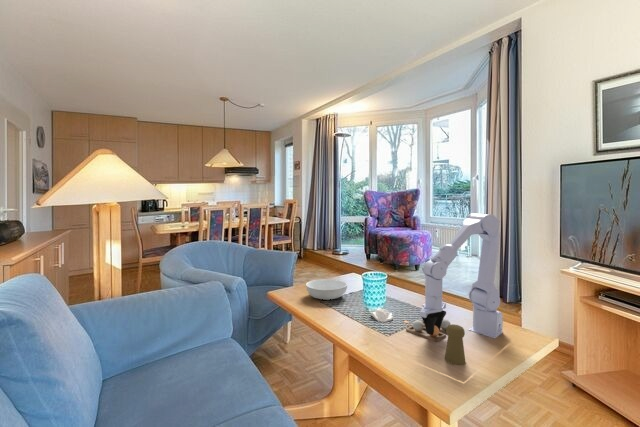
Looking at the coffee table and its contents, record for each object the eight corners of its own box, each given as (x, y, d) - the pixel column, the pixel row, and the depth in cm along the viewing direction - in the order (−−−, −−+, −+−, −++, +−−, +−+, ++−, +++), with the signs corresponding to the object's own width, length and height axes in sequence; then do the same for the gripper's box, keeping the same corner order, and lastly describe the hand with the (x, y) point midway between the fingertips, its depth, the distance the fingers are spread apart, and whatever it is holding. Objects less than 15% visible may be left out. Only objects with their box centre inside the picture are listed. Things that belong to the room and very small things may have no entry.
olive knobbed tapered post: (440, 356, 101) (441, 322, 101) (459, 355, 102) (459, 321, 101) (450, 366, 95) (450, 330, 95) (469, 365, 96) (470, 329, 95)
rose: (365, 309, 133) (375, 302, 141) (365, 319, 133) (375, 312, 141) (387, 314, 127) (397, 307, 135) (387, 325, 127) (397, 317, 135)
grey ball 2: (452, 329, 121) (452, 319, 120) (447, 332, 118) (447, 322, 118) (442, 326, 124) (442, 316, 123) (437, 329, 121) (437, 319, 121)
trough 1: (445, 337, 115) (446, 334, 115) (437, 343, 111) (437, 339, 111) (415, 327, 124) (415, 324, 124) (406, 331, 120) (406, 328, 120)
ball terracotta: (441, 336, 115) (441, 325, 115) (435, 339, 112) (435, 328, 112) (430, 332, 118) (431, 322, 118) (425, 336, 115) (425, 325, 115)
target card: (423, 325, 126) (423, 324, 126) (416, 329, 122) (416, 328, 122) (405, 319, 132) (405, 318, 132) (398, 323, 128) (398, 322, 128)
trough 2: (457, 330, 121) (457, 327, 120) (449, 335, 116) (449, 332, 116) (426, 321, 130) (426, 318, 130) (418, 325, 126) (418, 322, 126)
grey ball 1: (426, 331, 120) (426, 320, 119) (420, 334, 117) (420, 323, 117) (416, 328, 123) (416, 317, 122) (410, 330, 120) (410, 320, 120)
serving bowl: (354, 295, 166) (354, 281, 165) (334, 307, 148) (334, 292, 148) (320, 289, 177) (320, 276, 176) (297, 299, 159) (297, 285, 159)
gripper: (433, 288, 122) (433, 323, 123) (412, 296, 113) (412, 334, 113) (451, 292, 117) (451, 329, 118) (431, 301, 107) (430, 341, 108)
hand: (433, 332), depth 115 cm, fingers closed on ball terracotta, 4 cm apart
